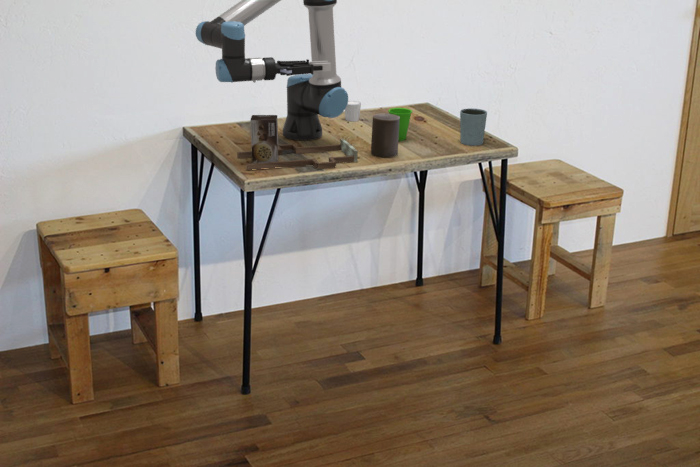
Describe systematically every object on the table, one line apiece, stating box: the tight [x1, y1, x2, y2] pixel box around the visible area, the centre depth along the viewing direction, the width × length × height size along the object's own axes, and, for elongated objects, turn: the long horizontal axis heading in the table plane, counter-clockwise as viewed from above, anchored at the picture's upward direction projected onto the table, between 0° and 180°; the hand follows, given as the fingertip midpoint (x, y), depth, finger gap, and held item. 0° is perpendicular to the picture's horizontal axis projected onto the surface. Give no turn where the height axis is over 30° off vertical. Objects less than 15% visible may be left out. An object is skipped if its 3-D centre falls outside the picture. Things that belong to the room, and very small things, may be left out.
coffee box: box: [249, 114, 279, 164], centre depth 312 cm, size 9×6×16 cm
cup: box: [387, 107, 413, 142], centre depth 344 cm, size 9×9×11 cm
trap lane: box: [236, 138, 359, 171], centre depth 318 cm, size 25×39×4 cm, turn 109°
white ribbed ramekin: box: [344, 100, 362, 122], centre depth 369 cm, size 7×7×7 cm
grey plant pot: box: [459, 107, 488, 147], centre depth 342 cm, size 10×10×12 cm
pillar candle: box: [370, 112, 400, 158], centre depth 325 cm, size 10×10×15 cm
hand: (329, 65), depth 312 cm, fingers open, 3 cm apart
